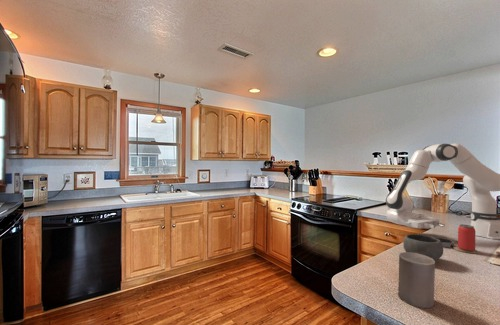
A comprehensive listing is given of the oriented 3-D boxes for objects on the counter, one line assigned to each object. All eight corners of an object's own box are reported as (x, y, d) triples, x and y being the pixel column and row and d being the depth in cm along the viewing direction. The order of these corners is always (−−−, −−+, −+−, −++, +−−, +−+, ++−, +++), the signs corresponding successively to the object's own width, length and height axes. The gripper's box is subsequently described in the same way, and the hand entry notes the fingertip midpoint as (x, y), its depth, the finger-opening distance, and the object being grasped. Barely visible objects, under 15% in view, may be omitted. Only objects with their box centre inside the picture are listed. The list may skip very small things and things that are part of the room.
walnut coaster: (470, 248, 126) (470, 246, 126) (481, 254, 118) (481, 252, 118) (449, 246, 129) (449, 244, 129) (459, 252, 120) (459, 250, 120)
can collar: (447, 242, 135) (447, 238, 135) (457, 248, 125) (457, 243, 125) (427, 241, 137) (427, 236, 137) (435, 246, 128) (435, 242, 128)
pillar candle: (391, 291, 83) (392, 248, 82) (418, 291, 83) (419, 247, 83) (412, 309, 73) (413, 260, 73) (442, 308, 73) (443, 259, 73)
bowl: (432, 269, 101) (432, 245, 101) (396, 256, 114) (396, 235, 114) (449, 262, 107) (450, 240, 107) (414, 251, 121) (414, 231, 121)
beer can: (471, 248, 124) (471, 224, 124) (478, 252, 118) (478, 228, 118) (455, 246, 127) (455, 223, 127) (461, 250, 120) (461, 226, 120)
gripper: (402, 216, 142) (428, 222, 129) (423, 214, 151) (449, 218, 138) (402, 227, 142) (428, 233, 129) (423, 224, 151) (449, 229, 138)
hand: (439, 226), depth 134 cm, fingers open, 8 cm apart
